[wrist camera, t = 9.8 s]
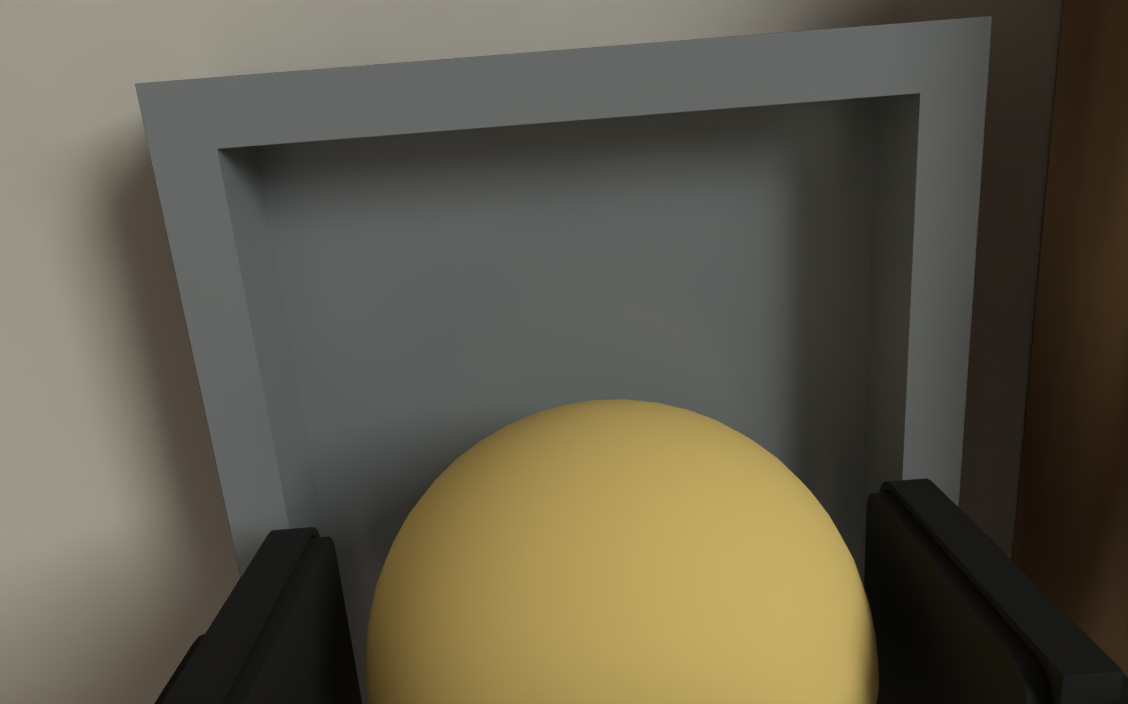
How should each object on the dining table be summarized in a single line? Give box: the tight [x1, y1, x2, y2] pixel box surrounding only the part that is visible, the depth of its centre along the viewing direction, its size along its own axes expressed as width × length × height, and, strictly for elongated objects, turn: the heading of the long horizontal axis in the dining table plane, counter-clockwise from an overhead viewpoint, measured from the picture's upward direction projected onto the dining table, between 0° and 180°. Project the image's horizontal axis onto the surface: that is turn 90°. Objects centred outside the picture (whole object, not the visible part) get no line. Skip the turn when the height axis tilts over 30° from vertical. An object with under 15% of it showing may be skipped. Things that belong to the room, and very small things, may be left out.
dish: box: [135, 16, 992, 704], centre depth 13 cm, size 14×10×2 cm
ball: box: [365, 399, 879, 704], centre depth 10 cm, size 6×6×6 cm
